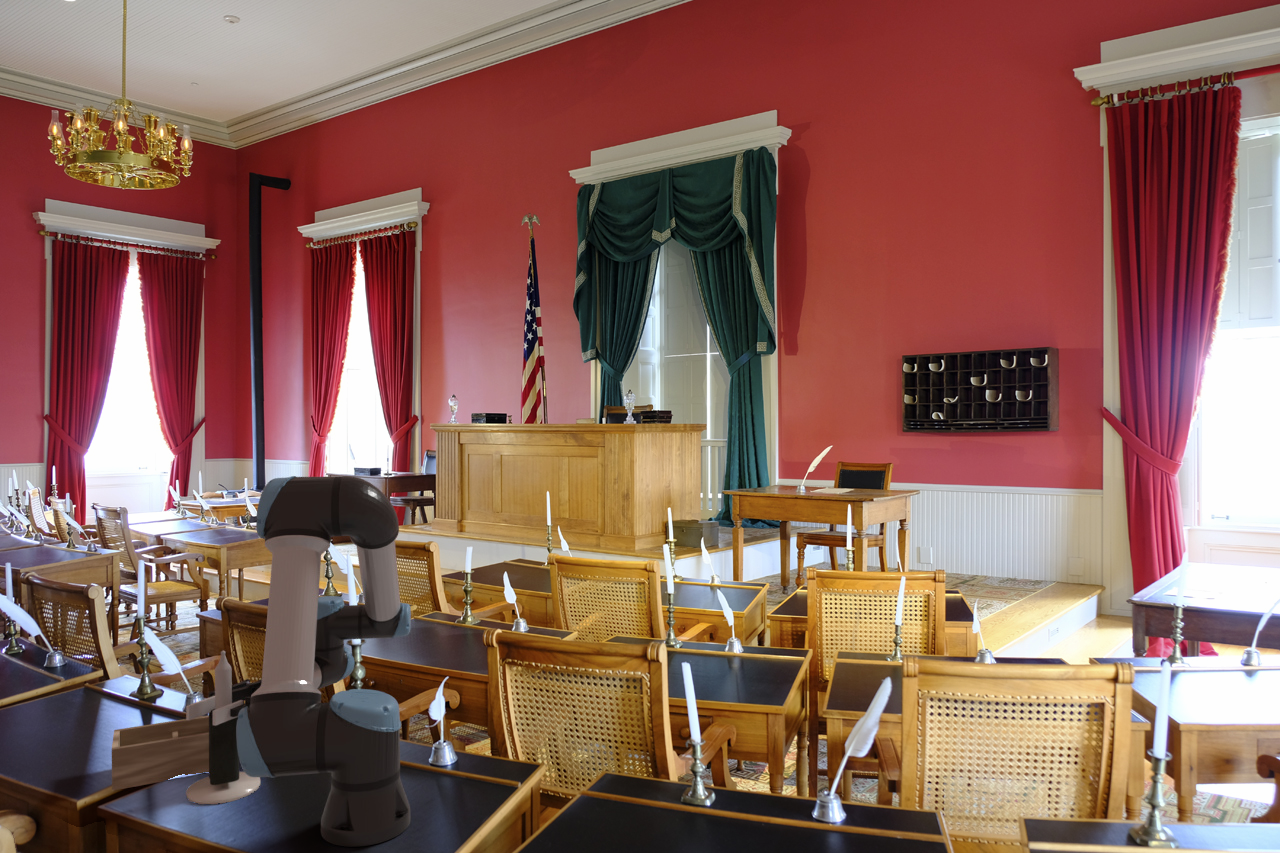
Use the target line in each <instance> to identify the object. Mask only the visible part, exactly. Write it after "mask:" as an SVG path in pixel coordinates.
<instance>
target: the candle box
mask: <svg viewBox="0 0 1280 853" xmlns="http://www.w3.org/2000/svg"><path fill="white" fill-rule="evenodd" d="M203 772H209V715H202V716H200V717H197V718H195V719H192V720H186V718H183V719H182V718H181V719H178V720H177V719H176V720H172V721H171V720H170V721H165V722H158V723H151V724H144V725H138V726H131V727H123V728H119V729H118V728H117V729H114V730H113V737H112V745H111V791H112V792H113V791H119V790H123V789H128V788H133V787H140V786H141V787H142V786H144V785H150V784H151V785H152V784H157V783H161V782H162V783H163V782H166V781H165V780H168V779H170V778H173V777H175V776H178V775H182V774H185V775H188V774H196V773H203ZM168 781H169V780H168Z"/></svg>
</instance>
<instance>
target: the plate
mask: <svg viewBox="0 0 1280 853" xmlns="http://www.w3.org/2000/svg"><path fill="white" fill-rule="evenodd" d="M259 786H260V787H261V777H250V776H248V775H247V774H246V773H245V772H244V771H239V779H238V780H237V781H234V782H229V783H224V784H219V785H211V784H210V779H209V776H207V777H204V778H203V777H202V778H201V779H198V780H197V781H195V782H194V783H191V784H190V785H189V786H188V787H187V789H186V792H185V796H187V797H186V799H187V798H188V799H189V800H188V799H187V800H188V801H189V802H190V801H191V803H192V802H195V803H194V804H196V803H198V804H197V805H204V804H211V805H219V804H218V803H220V804H225V803H226V802H227V803H230V802H231V803H232V802H234V801H238V800H240V798H241V799H244V798H246V797H248V796H251V795H252V794H253V793H255V792H256V791H257V790H259V788H260V787H259ZM254 791H255V792H254ZM251 793H252V794H251ZM243 797H244V798H243Z"/></svg>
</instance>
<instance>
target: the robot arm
mask: <svg viewBox="0 0 1280 853" xmlns="http://www.w3.org/2000/svg"><path fill="white" fill-rule="evenodd" d="M256 519H257V520H256V523H255V527H256V533H257V535H258V537H259V538H260V539H263V540H264V547H265V548H266V549H267V551H269V552H270V553H271V554H272V555H271V556H272V560H271V569H270V582H269V590H268V591H269V593H268V602H267V603H268V605H267V615H266V616H267V618H266V626H265V627H266V628H265V640H264V651H263V660H262V662H263V663H262V673H261V679H258V681H253V682H251V680H250V679H248V678H246V679H244V680H242V681H240V682H238V683H235V684H232V704H229V705H226V706H224V707H221V708H219V709H216V710H213V709H215V690H213V691H209V692H208V697H207V698H204V699H202V700H199V701H196V702H194V703H191V704H188V705H186V707H185V710H186V711H185V713H186V716H185V719H186V720H192V719H195V718H197V717H202V716H206V715H207V714H208V715H209V713H210V712H211V710H213V725H215V726H216V725H218V724H221V723H223V722H226V721H228V720H231V719H233V718H236V717H238V720H237V727H236V739H237V750H238V756H239V765H240V767H241V768H242V770H243V771H242V772H245V773H246V774H247V775H248V776H250V777H260V778H272V779H273V778H275V779H276V778H277V777H286V776H288V777H289V776H299V775H300V776H302V775H310V774H311V775H312V774H322V773H323V774H324V773H331V774H330V775H331V780H330V782H331V783H330V784H331V786H330V791H329V793H328V797H327V800H326V802H325V806H324V810H323V812H322V815H321V819H320V835H321V837H322V838H323V840H324V841H326V842H327V843H330V844H332V845H335V846H339V847H351V848H352V847H353V848H355V847H356V848H357V847H366V846H367V847H368V846H372V845H377V844H380V843H384V842H387V841H389V840H392V839H393V838H396V837H398V836H399V835H401V834H402V833H404V832H405V831H406V829H408V828H409V826H410V825H411V805H410V802H409V800H408V797H407V794H406V792H405V789H404V786H403V783H402V780H401V747H400V746H401V743H400V741H401V740H400V739H401V738H400V737H401V736H400V733H401V732H400V729H401V726H402V722H401V719H400V705H399V703H398V701H397V699H396V698H395V697H393V696H392V695H390V694H388V693H386V692H384V691H381V690H375V689H370V688H369V689H367V688H366V689H365V688H352V689H348V690H342V691H341V690H340V691H338V692H336V693H334V694H333V695H332V697H331V698H330V700H329V702H322V692H321V691H320V689H322V688H326V687H328V686H330V685H334V684H337V683H338V682H341V681H342V680H343V679H346V678H347V677H350V675H351V674H352V672H353V670H354V668H355V658H354V656H353V652H352V651H351V649H349V648H348V647H347V646H345V643H344V642H345V641H346V640H348V641H349V640H363V639H365V640H367V639H394V638H400V637H401V638H402V637H403V638H404V637H407V636H408V635H409V634H410V633H411V626H412V623H411V622H412V618H411V617H412V612H411V611H412V610H411V606H410V604H409V603H405V602H401V598H400V597H401V596H400V585H399V576H398V575H399V574H398V563H397V561H398V559H397V553H396V552H397V551H396V539H397V538H398V536H399V534H400V527H399V524H400V523H399V518H398V515H397V512H396V509H395V508H394V506H393V504H392V502H391V501H390V499H389V498H388V497H387V496H386V495H385V493H384V492H383V491H381V490H380V488H378V487H377V486H375V485H374V484H373V483H371V482H369V481H368V480H365V479H363V478H361V477H357V476H351V475H341V476H295V475H293V476H289V477H276V478H272V479H271V480H269V481H268V482H267V484H266V485H264V486H263V489H262V491H261V494H260V497H259V500H258V505H257V508H256ZM346 536H347V537H349V538H350V540H351V543H353V544H354V545H355V546H356V552H357V557H358V559H357V560H358V565H359V573H360V580H361V587H362V595H363V603H364V604H356V605H355V604H353V605H345V602H344V598H343V597H342V596H338V595H325V596H324V595H323V596H320V594H319V593H320V592H319V591H320V581H321V580H320V579H321V566H322V563H321V562H322V555H323V554H324V553H325V552H326V551H327V550H329V549H330V547H331V540H332V538H333V537H346ZM331 537H332V538H331Z"/></svg>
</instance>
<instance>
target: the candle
mask: <svg viewBox="0 0 1280 853" xmlns="http://www.w3.org/2000/svg"><path fill="white" fill-rule="evenodd" d="M226 652H227V651H225V650H222V651H220V658H219V662H218V663H217V665H216V666H215V668H214V691H215V709H213V710H216V709H219V708H221V707H224V706H226V705H229V704H232V685H233V684H232V683H233V681H232V677H233V676H232V672H233V671H232V666H231V664H230V663H229V662H228V659H227V657H226ZM213 710H211V712H210V713H208V716H209V773H208V777H209V779H210V784H211V785H219V784H224V783H229V782H234V781H237V780H238V779H239V772H240V760H239V756H238V750H237V739H236V727H237V720H238V717H236V718H233V719H231V720H228V721H226V722H223V723H221V724H218V725H216V726H215V725H213Z"/></svg>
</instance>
